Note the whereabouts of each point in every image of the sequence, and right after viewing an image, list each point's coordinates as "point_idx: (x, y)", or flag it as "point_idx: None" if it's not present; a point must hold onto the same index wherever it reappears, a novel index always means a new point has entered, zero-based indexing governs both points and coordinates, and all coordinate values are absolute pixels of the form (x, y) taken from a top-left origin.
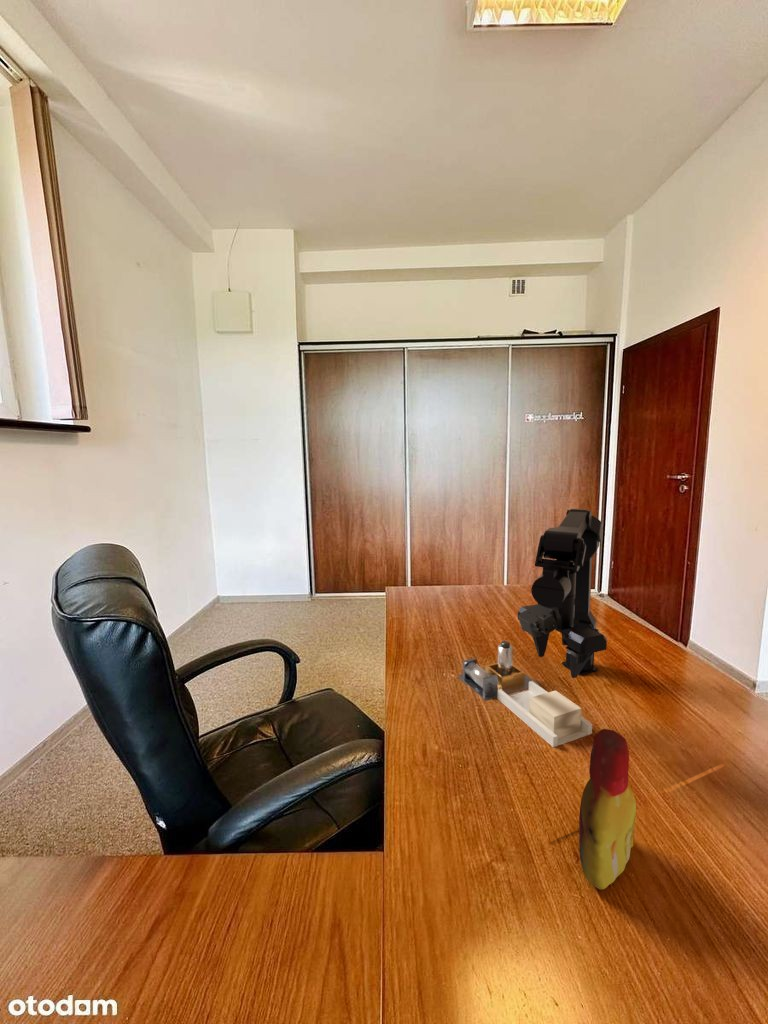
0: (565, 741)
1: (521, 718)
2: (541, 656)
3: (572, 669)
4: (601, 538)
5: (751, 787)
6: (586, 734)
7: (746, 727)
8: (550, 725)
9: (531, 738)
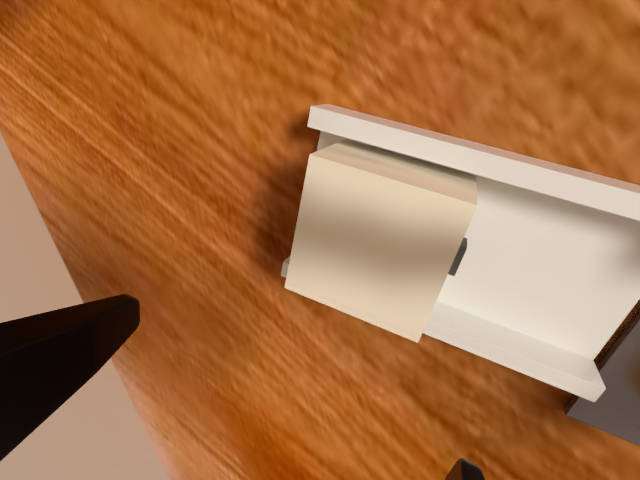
0: None
1: (502, 150)
2: (452, 470)
3: (45, 318)
4: None
5: None
6: None
7: (169, 456)
8: (346, 151)
9: (411, 88)
